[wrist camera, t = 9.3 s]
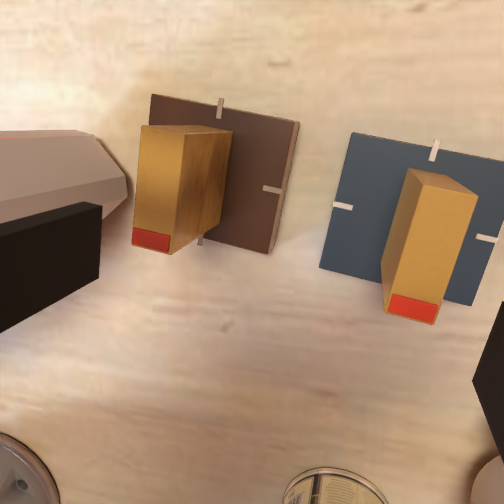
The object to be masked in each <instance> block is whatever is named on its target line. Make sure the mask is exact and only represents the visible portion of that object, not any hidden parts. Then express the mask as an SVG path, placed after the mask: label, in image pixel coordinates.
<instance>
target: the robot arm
mask: <svg viewBox="0 0 504 504" xmlns="http://www.w3.org/2000/svg"><path fill="white" fill-rule="evenodd" d="M102 213H103V206H102V205H98V204H93V203H89V202H85V201H82V202H79V203H75V204H71V205H67V206H64V207H60V208H56V209H53V210H49V211H45V212H41V213H38V214H34V215H30V216H27V217H23V218H19V219H15V220H12V221H8V222H4V223H0V333H2V332H4V331H5V330H7V329H9V328H11V327H12V326H14V325H16V324H18V323H20V322H21V321H23V320H25V319H27V318H28V317H30V316H32V315H34V314H36V313H37V312H39V311H41V310H43V309H44V308H46V307H48V306H50V305H52V304H53V303H55V302H57V301H59V300H60V299H62V298H64V297H66V296H68V295H69V294H71V293H73V292H75V291H77V290H78V289H80V288H82V287H84V286H85V285H87V284H89V283H91V282H93V281H94V280H96V279H98V278H99V265H100V247H101V230H102ZM472 382H473V385H474V387H475V390H476V393H477V395H478V398H479V401H480V403H481V406H482V408H483V411H484V414H485V416H486V419H487V422H488V424H489V427H490V430H491V432H492V435H493V437H494V440H495V443H496V445H497V448H498V451H499V453H500V456H501V458H502V461H503V464H504V301H502V303H501V306H500V309H499V311H498V314H497V317H496V319H495V322H494V324H493V327H492V330H491V332H490V335H489V338H488V340H487V343H486V345H485V348H484V351H483V353H482V356H481V359H480V361H479V364H478V366H477V369H476V372H475V374H474V377H473V380H472ZM0 504H59V497H58V493H57V489H56V486H55V484H54V482H53V480H52V478H51V476H50V474H49V472H48V471H47V469H46V468H45V466H44V465H43V464H42V462H41V461H40V460H39V459H38V458H37V457H36V456H35V455H34V454H33V453H32V452H31V451H30V450H29V449H28V448H26V447H25V446H24V445H22V444H21V443H19V442H18V441H16V440H14V439H12V438H10V437H8V436H6V435H4V434H1V433H0Z"/></svg>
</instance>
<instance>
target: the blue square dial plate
mask: <svg viewBox="0 0 504 504" xmlns="http://www.w3.org/2000/svg"><path fill="white" fill-rule="evenodd" d="M440 141H441V140H437V139H435V140H434V144H433V147H427V146H422V145H417V144H412V143H407V142H402V141H396V140H391V139H386V138H381V137H376V136H371V135H366V134H360V133H355V132H353V133H352V134H351V138H350V142H349V146H348V150H347V154H346V158H345V162H344V166H343V171H342V175H341V179H340V183H339V187H338V191H337V195H336V199H335V201H333V205H332V206H334V207H333V211H332V216H331V220H330V224H329V228H328V232H327V236H326V240H325V244H324V248H323V252H322V257H321V261H320V265H319V268H322V269H326V270H330V271H334V272H338V273H342V274H346V275H350V276H353V277H357V278H361V279H365V280H369V281H373V282H377V283H381V284H382V275H381V260H382V256H383V253H384V249H385V246H386V242H387V239H388V236H389V232H390V229H391V225H392V222H393V218H394V215H395V212H396V208H397V205H398V201H399V198H400V194H401V191H402V187H403V184H404V181H405V177H406V174H407V170H408V168H413V169H418V170H423V171H428V172H433V173H438V174H443V175H447V176H449V177H450V178H452V179H453V180H455V181H456V182H458V183H460V184H461V185H463V186H464V187H466V188H467V189H469V190H470V191H472V192H473V193H475V194H476V195H478V200H477V203H476V206H475V209H474V211H473V214H472V217H471V220H470V223H469V226H468V229H467V232H466V234H465V237H464V240H463V243H462V246H461V249H460V252H459V254H458V257H457V260H456V263H455V266H454V269H453V272H452V275H451V277H450V280H449V283H448V286H447V289H446V292H445V295H444V298H443V299H444V300H448V301H451V302H455V303H459V304H463V305H467V306H472V303H473V300H474V298H475V295H476V292H477V290H478V287H479V284H480V282H481V279H482V276H483V274H484V271H485V268H486V266H487V263H488V260H489V258H490V255H491V252H492V250H493V247H494V244H495V243H497V244H498V241H499V238H497V236H498V233H499V231H500V228H501V225H502V223H503V220H504V161H499V160H494V159H489V158H484V157H479V156H474V155H468V154H463V153H458V152H453V151H448V150H443V149H438V148H439V144H440Z"/></svg>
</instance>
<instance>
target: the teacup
mask: <svg viewBox="0 0 504 504" xmlns="http://www.w3.org/2000/svg"><path fill="white" fill-rule="evenodd" d="M471 504H504V464H503V461H502V458H501V456H500V455H499V456H497V457H495V458H494V459H492V460H491V461H490V462H488V463H487V464H486V465H485V466H484V467H483V468H482V469H481V470H480V472H479V473H478V475H477V477H476V479H475V481H474V484H473V487H472V493H471Z"/></svg>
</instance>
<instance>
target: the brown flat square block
mask: <svg viewBox="0 0 504 504" xmlns="http://www.w3.org/2000/svg"><path fill="white" fill-rule="evenodd" d="M223 104H224V99H223V98H219V101H218V106H216V105H211V104H206V103H201V102H196V101H191V100H185V99H180V98H175V97H170V96H164V95H157V94H152V96H151V105H150V115H149V125H202V126H207V127H213V128H218V129H223V130H228V131H232V132H233V136H232V143H231V150H230V156H229V163H228V170H227V176H226V183H225V190H224V197H223V203H222V210H221V217H220V223H219V224H218V225H216V226H215V227H213V228H212V229H210V230H208V231H207V232H205V233H204V234H202V235H201V236H199V237H198V243H197V245H200V246H202V243H203V238H205V239H209V240H213V241H217V242H221V243H225V244H228V245H232V246H236V247H240V248H244V249H248V250H252V251H256V252H260V253H264V254H268V253H269V252H270V251H271V249H272V248H273V247H274V245H275V240H276V235H277V230H278V225H279V220H280V216H281V211H282V206H283V201H284V196H285V191H286V186H287V182H288V177H289V172H290V167H291V162H292V157H293V153H294V148H295V143H296V138H297V133H298V128H299V123H300V122H299V121H293V120H288V119H283V118H278V117H273V116H268V115H263V114H257V113H252V112H247V111H242V110H237V109H232V108H227V107H223Z"/></svg>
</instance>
